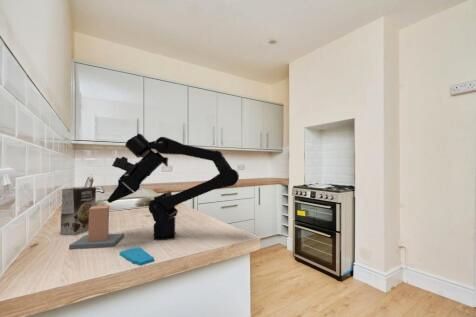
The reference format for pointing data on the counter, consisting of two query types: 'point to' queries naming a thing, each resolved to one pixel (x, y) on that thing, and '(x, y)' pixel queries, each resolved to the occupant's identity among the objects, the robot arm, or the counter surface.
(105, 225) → the terracotta block
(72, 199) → the coffee box
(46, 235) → the counter surface
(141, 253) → the sponge
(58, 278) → the counter surface
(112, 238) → the slate board
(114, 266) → the counter surface
